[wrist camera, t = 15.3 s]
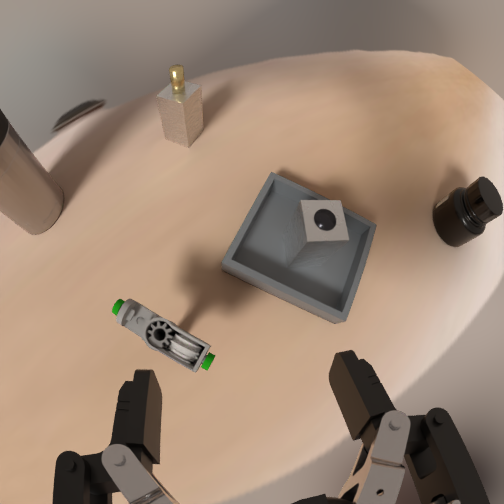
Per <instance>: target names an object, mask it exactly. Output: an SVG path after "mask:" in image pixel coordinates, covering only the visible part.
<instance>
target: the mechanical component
mask: <svg viewBox="0 0 504 504" xmlns="http://www.w3.org/2000/svg"><path fill="white" fill-rule="evenodd" d="M112 312H113V313H114V314H115V315H117V318H116V321H117V323H119V324H120V325H122V326H125V327H126V328H128V329H129V330H131V331H132V332H134V333H135V334H137V335H138V336H140V337H141V338H142V340H144V341H145V343H146V344H147V346H148V347H149V348H151V349H153V350H155V351H159V352H161V353H162V354H164V355H165V356H167V357H169V358H171V359H172V360H174V361H176V362H177V363H179V364H181V365H183V366H184V367H186V368H188V369H190V370H192V371H193V372H195V373H196V372H197V370H198V369H199V367H200V365H201V363H202V366H201V367H202V368H203V369H205V370H208V369H209V367H210V365H211V363H212V361H213V360H214V358H215V355H213V354H211V353H210V352H209V353H208V355H206V354H207V352H208V350H209V348H210V345H209V344H207V343H206V342H204V341H202V340H200V339H198V338H197V337H195V336H193V335H191V334H190V333H188V332H186V331H184V330H183V329H181V328H179V327H178V326H177V325H176V324H175V323H173V322H171V321H169V320H167V319H164V318H162V317H161V316H159V315H157V314H156V313H154V312H152V311H151V310H149V309H148V308H146V307H144V306H143V305H141V304H139V303H138V302H136V301H134V300H132V299H128V300H126V301H123V300H122V299H119V300H117V301H116V303H115V304H114V306H113V309H112Z"/></svg>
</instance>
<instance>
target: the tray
mask: <svg viewBox="0 0 504 504" xmlns="http://www.w3.org/2000/svg"><path fill="white" fill-rule="evenodd" d="M300 200H329V199H327V198H325V197H323V196H321V195H319V194H317V193H315V192H313V191H311V190H309V189H307V188H305V187H303V186H301V185H299V184H297V183H294V182H292V181H290V180H288V179H286V178H284V177H282V176H279V175H277V174H275V173H273V172H271V173H270V175H269V177H268V179H267V180H266V182H265V184H264V186H263V187H262V189H261V191H260V193H259V195H258V196H257V198H256V200H255V202H254V204H253V205H252V207H251V209H250V211H249V213H248V215H247V216H246V218H245V220H244V222H243V224H242V225H241V227H240V229H239V231H238V233H237V235H236V236H235V238H234V240H233V242H232V244H231V246H230V248H229V249H228V251H227V253H226V255H225V257H224V259H223V261H222V270H223V271H225V272H227V273H229V274H231V275H233V276H235V277H237V278H239V279H241V280H243V281H245V282H247V283H249V284H251V285H253V286H255V287H257V288H259V289H262V290H264V291H266V292H268V293H270V294H272V295H274V296H276V297H278V298H280V299H282V300H285V301H287V302H289V303H291V304H293V305H295V306H297V307H299V308H302V309H304V310H306V311H308V312H310V313H312V314H314V315H317V316H319V317H321V318H323V319H325V320H328V321H330V322H332V323H334V324H336V323H341V322H345V321H346V319H347V317H348V314H349V311H350V308H351V306H352V303H353V300H354V297H355V294H356V291H357V288H358V285H359V282H360V279H361V276H362V273H363V270H364V267H365V264H366V260H367V257H368V254H369V250H370V247H371V243H372V240H373V236H374V233H375V229H376V224H374V223H373V222H371V221H369V220H367V219H365V218H363V217H362V216H360V215H358V214H356V213H354V212H352V211H350V210H349V209H347V208H345V207H343V206H342V208H343V213H344V217H345V222H346V226H347V231H348V236H349V241H348V242H346V243H345V244H344V245H343V246H342V247H341V248H340V249H339V250H338V251H336V252H335V253H334V254H333V255H332V256H331V257H330V258H329V259H327V260H326V261H325V262H324V263H323V264H322V265H321V266H311V267H295V268H287V266H286V257H285V249H284V241H283V233H284V232H285V230H286V228H287V226H288V224H289V222H290V220H291V218H292V216H293V214H294V212H295V210H296V208H297V206H298V204H299V202H300Z"/></svg>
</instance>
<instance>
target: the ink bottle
mask: <svg viewBox="0 0 504 504" xmlns="http://www.w3.org/2000/svg"><path fill="white" fill-rule="evenodd" d="M502 211H503V203H502V200H501V197H500V195H499V193H498V191H497V189H496V188H495V186H494V185H493V183H492V182H491V181H490V180H489V179H488V178H485V177H479V178H478V179H477V180H476V181H474V182H473V183H472V184H471V185H470V186H469V187H467V189H466V188H463V187H459V188H456V189H455V190H453V191H452V192H451V193H450V194H448V195H447V196H446V197H445V198H444V199H442V200H441V201H440V202H439V203H437V204H436V206H435V207H434V211H433V219H434V224H435V227H436V230H437V232H438V234H439V236H440V237H441V238H442V240H443V241H444V242H446V243H447V244H448V245H450V246H453V247H459V246H461V245H463V244H465V243H467V242H469V241H470V240H472V239H474V238H476V237H477V236H479V235H481V234H482V233H483V232H484V230H485V226H486V224H487V223H488V222H490V221H492V220H493V219H495V218H497V217H498V216H500V215H501V214H502Z"/></svg>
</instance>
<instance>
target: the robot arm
mask: <svg viewBox="0 0 504 504" xmlns="http://www.w3.org/2000/svg"><path fill="white" fill-rule="evenodd" d="M63 201H64V196H63V192H62V189H61V188H60V187H59V186H58V184H57V183H56V182H55V181H54V180H53V178H52V177H51V176H50V175H49V173H48V172H47V171H46V170H45V168H44V167H43V166H42V165H41V163H40V162H39V161H38V160H37V158H36V157H35V156H34V155H33V153H32V152H31V151H30V149H29V148H28V147H27V145H26V144H25V143H24V142H23V140H22V139H21V137H20V136H19V135H18V133H17V132H16V131H15V129H14V128H13V127H12V125H11V124H10V122H9V121H8V119H7V118H6V117H5V115H4V114H3V112H2V111H1V109H0V211H1V212H2V213H3V214H4V215H6V216H7V217H8V218H10V219H11V220H12V221H13V222H15V223H16V224H17V225H19V226H20V227H21V228H23V229H24V230H25V231H27V232H28V233H30V234H35V235H36V234H41V233H43V232H45V231H46V230H47V229H49V228H50V227H51V226H52V225H53V224H54V222H55V221H56V220H57V218H58V216H59V215H60V212H61V210H62V207H63ZM376 375H377V374H376V373H375V371H374V369H373V367H372V366H371V365H370V364H369V363H368V362H367V361H365V360H364V359H360V360H358V358H357V356H356V354H355V353H354V351H353V350H349V351H344V352H339V353H336V354H335V357H334V360H333V363H332V366H331V369H330V372H329V382H330V385H331V388H332V390H333V393H334V395H335V397H336V400H337V402H338V405H339V407H340V410H341V412H342V414H343V417H344V419H345V422H346V424H347V427H348V429H349V432H350V434H351V437H352V439H353V440H357V439H360V438H361V440H362V442H363V444H362V445H361V448H360V451H359V454H358V456H357V459H356V462H355V464H354V467H353V469H352V472H351V474H350V476H349V478H348V480H347V482H346V483H345V485H344V486H343V488H342V490H341V492H340V494H339V496H338V498H333V497H326V495H325V494H322V495H319V496H315V497H310V498H307V499H302V500H299V501H297V502H295V503H292V504H395V502H396V499H397V496H398V493H399V490H400V486H401V483H402V480H403V476H404V472H405V467H404V466H402V460H403V457H405V460H406V463H407V465H408V468H409V470H410V473H411V476H412V479H413V481H414V484H415V487H416V489H417V492H418V495H419V498H420V501H421V504H490V503H489V500H488V498H487V495H486V492H485V490H484V487H483V485H482V482H481V480H480V477H479V475H478V473H477V470H476V468H475V466H474V464H473V462H472V459H471V457H470V455H469V453H468V451H467V449H466V447H465V445H464V442H463V440H462V438H461V436H460V434H459V432H458V430H457V428H456V427H455V425H454V423H453V421H452V419H451V417H450V415H449V413H447V411H446V410H444V409H442V408H433V409H431V410H430V411H429V412H428V413H427V414H426V415H416V416H407V415H406V414H405V413H403V412H401V411H397V410H396V409H395V407H394V405H393V404H392V402H391V400H390V398H389V396H388V394H387V393H386V391H385V389H384V387H383V385H382V383H380V380H379V378H378V376H376ZM161 412H162V393H161V389H160V386H159V384H158V381H157V378H156V376H155V373H154V371H153V370H138V369H137V370H135V373H134V379H133V381H125V383H124V384H123V386H122V387H121V389H120V390H119V395H118V403H117V407H116V412H115V418H114V425H113V432H112V439H111V442H110V444H109V446H108V447H107V448H106V449H105V450H104V451H102V452H100V453H97V454H91V455H84V456H80V455H79V454H77V453H76V452H73V451H65V452H63V453H61V454H60V455H59V456H58V458H57V460H56V467H55V477H54V489H53V504H112V493H115V492H122V494H123V495H124V497H125V498H126V499H127V501H128V502H129V504H180V503H179V502H178V501H177V500H176V499H175V498H174V497H173V496H172V495H171V494H170V493H169V492H168V491H167V490H166V488H165V487H164V486H163V485H162V484H161V483H160V481H159V480H158V479H157V478H156V477H155V475H154V474H153V473H152V466H153V464H160V433H161Z"/></svg>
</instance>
